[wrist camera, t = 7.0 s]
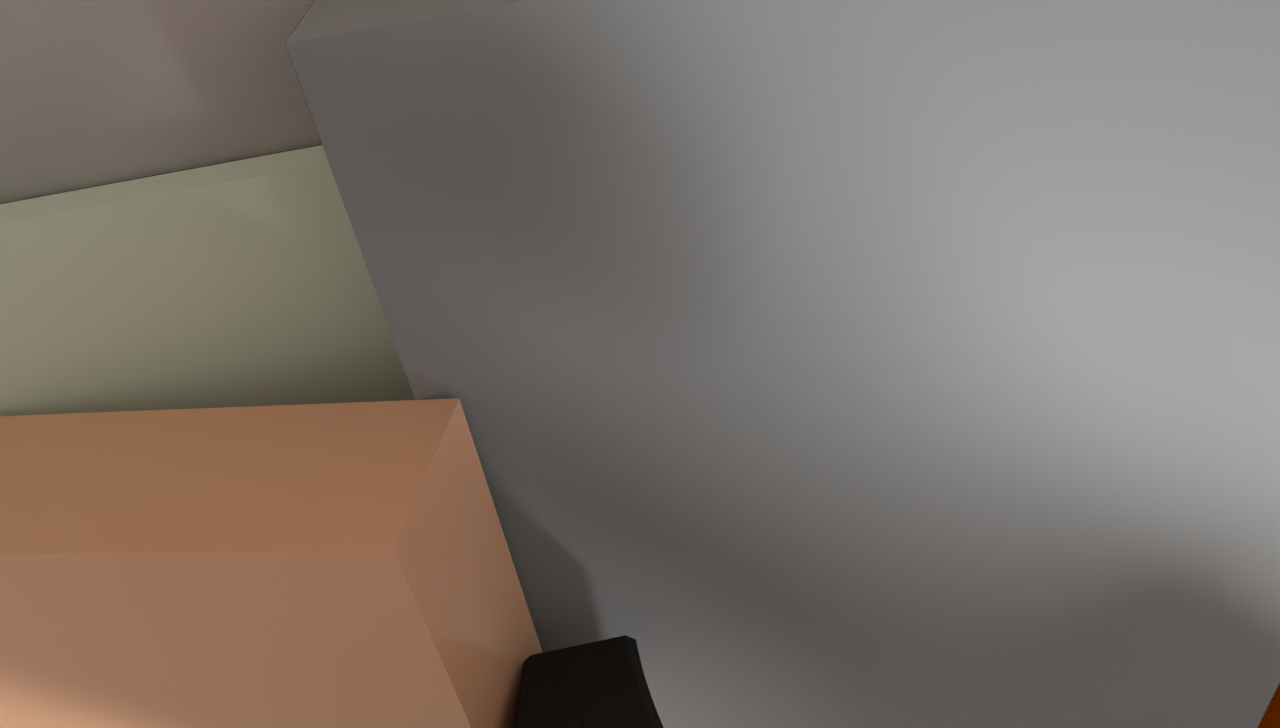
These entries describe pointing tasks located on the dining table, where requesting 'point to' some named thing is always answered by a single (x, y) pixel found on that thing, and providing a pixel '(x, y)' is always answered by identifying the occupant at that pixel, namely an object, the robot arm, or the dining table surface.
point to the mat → (192, 295)
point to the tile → (255, 571)
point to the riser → (848, 337)
